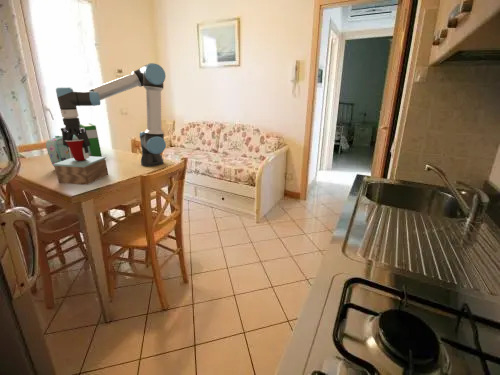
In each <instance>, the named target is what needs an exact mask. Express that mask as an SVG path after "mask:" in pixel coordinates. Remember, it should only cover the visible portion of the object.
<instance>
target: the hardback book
mask: <svg viewBox="0 0 500 375" xmlns="http://www.w3.org/2000/svg"><path fill="white" fill-rule="evenodd" d="M80 127H81V128H86V133H87V136H88V139H89V141H90V144H91V145H90V146H89V148H90V151H91V156H95V157H103V155H102V150H101V146H100V140H99V136H98V130H97V126H96V125H95V124H93V123H90V122H89V123H88V124H81V123H80Z"/></svg>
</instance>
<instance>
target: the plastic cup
mask: <svg viewBox="0 0 500 375" xmlns="http://www.w3.org/2000/svg"><path fill="white" fill-rule="evenodd" d="M65 142H66V143H67V144H68V146H69V148H70V150H71V152H72V155H73V157H74V159H75V160H76V161H81V160H86V159H84V155H83V148H82V147H83V143H85V142H84V140H83V139H82V140H79V139H72V141H67V140H65Z"/></svg>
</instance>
